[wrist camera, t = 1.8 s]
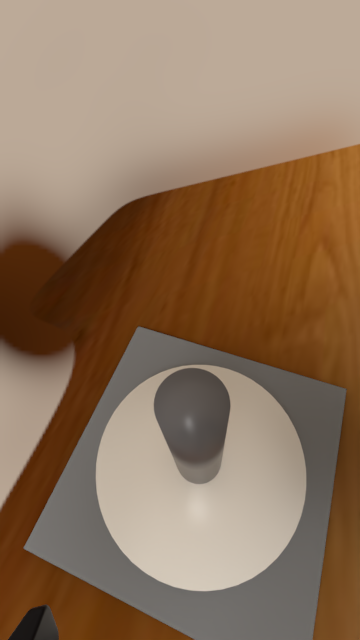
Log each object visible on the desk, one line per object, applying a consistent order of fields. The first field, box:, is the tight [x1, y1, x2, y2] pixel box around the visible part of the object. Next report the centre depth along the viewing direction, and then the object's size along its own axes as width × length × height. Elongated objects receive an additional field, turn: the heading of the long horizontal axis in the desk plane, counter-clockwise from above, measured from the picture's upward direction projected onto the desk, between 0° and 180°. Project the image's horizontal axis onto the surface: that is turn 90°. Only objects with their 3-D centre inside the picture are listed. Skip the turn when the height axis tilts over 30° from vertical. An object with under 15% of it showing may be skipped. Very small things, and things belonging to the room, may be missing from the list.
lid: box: [96, 365, 306, 591], centre depth 16 cm, size 12×12×10 cm
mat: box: [23, 326, 347, 640], centre depth 21 cm, size 15×15×1 cm
